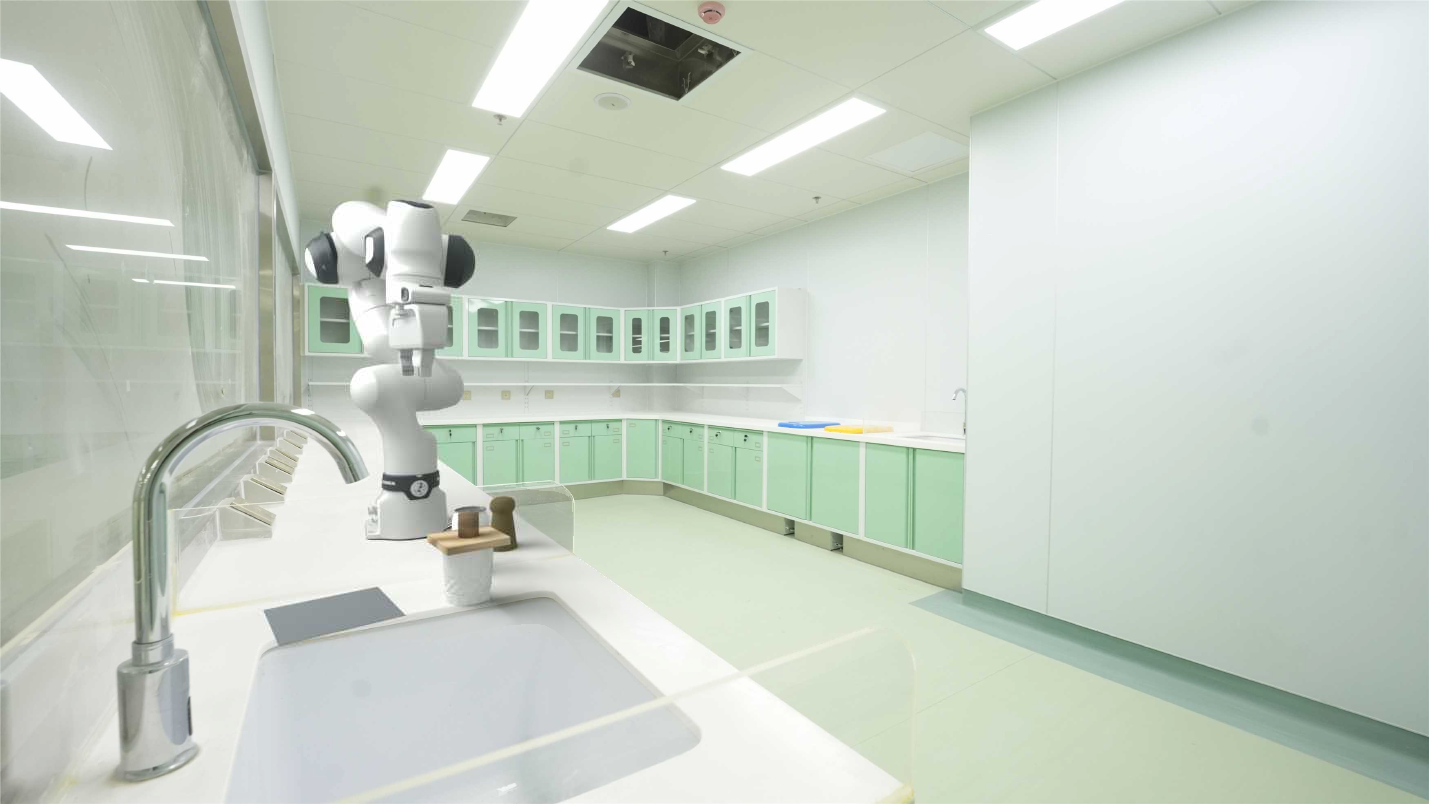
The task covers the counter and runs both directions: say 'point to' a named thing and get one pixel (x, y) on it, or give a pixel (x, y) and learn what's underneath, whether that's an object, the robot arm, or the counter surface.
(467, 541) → the lid
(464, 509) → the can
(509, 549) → the olive pepper grinder
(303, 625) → the mat
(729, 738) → the counter surface
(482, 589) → the white cup
